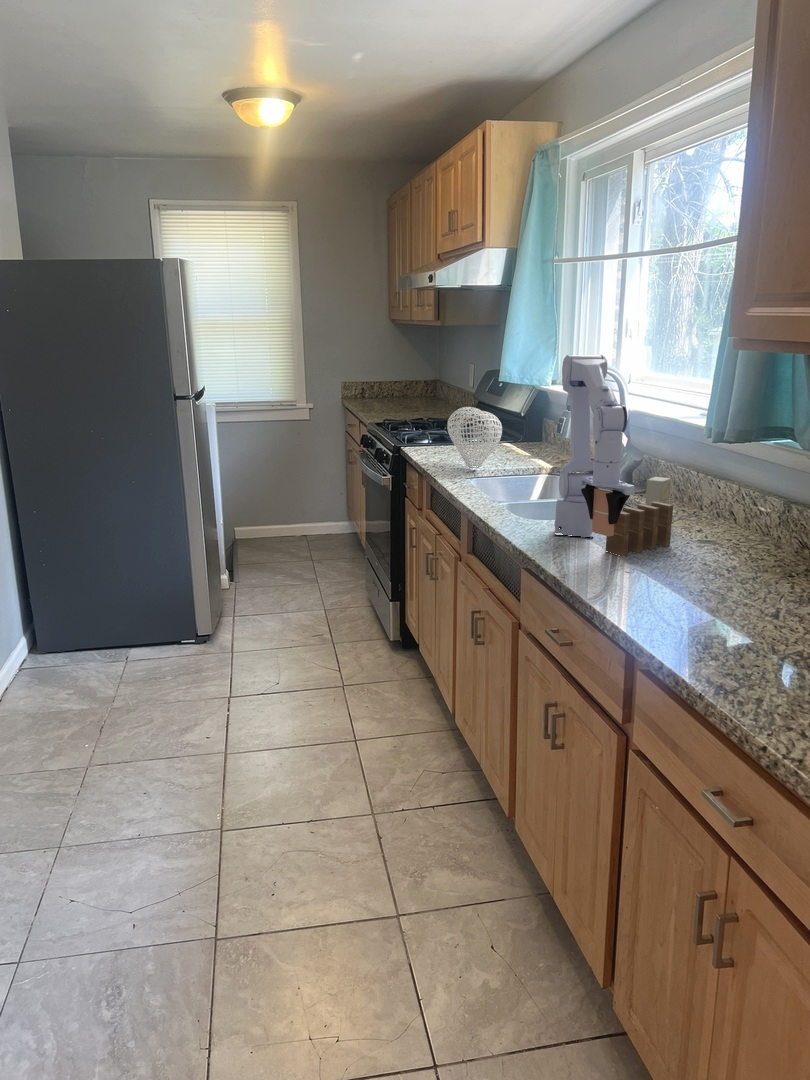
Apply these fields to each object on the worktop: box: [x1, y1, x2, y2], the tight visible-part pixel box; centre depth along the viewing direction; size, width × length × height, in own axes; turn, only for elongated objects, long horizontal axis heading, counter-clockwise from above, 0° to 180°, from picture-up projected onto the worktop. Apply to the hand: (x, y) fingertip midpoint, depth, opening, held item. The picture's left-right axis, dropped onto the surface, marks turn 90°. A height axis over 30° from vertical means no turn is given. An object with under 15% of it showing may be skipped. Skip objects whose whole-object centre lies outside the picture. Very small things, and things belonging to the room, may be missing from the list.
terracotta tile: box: [592, 488, 614, 537], centre depth 178 cm, size 2×5×10 cm, turn 34°
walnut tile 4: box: [605, 510, 630, 557], centre depth 182 cm, size 2×5×10 cm, turn 34°
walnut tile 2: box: [636, 503, 659, 551], centre depth 188 cm, size 2×5×10 cm, turn 34°
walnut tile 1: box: [651, 501, 674, 548], centre depth 190 cm, size 2×5×10 cm, turn 34°
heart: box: [446, 406, 503, 469], centre depth 284 cm, size 28×16×22 cm, turn 12°
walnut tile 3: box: [622, 506, 645, 554], centre depth 185 cm, size 2×5×10 cm, turn 34°
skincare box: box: [644, 476, 672, 506], centre depth 209 cm, size 6×4×12 cm
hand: (603, 521), depth 179 cm, fingers closed on terracotta tile, 5 cm apart
